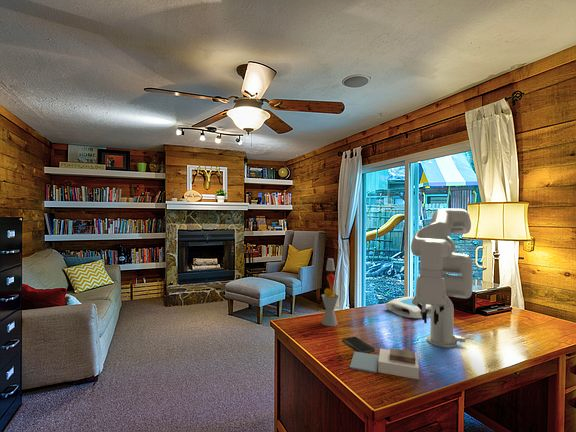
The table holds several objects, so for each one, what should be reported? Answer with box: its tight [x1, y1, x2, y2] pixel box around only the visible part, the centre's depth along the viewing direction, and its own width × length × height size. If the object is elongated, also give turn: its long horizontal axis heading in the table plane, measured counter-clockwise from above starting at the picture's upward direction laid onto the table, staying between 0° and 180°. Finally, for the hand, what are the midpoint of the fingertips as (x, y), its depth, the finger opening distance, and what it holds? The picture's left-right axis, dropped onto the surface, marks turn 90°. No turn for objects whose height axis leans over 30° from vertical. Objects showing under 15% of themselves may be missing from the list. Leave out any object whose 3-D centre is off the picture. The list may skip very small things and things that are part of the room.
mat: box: [349, 351, 379, 374], centre depth 122 cm, size 10×14×1 cm
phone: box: [342, 336, 375, 354], centre depth 138 cm, size 8×1×15 cm
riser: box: [377, 348, 420, 380], centre depth 118 cm, size 14×12×4 cm
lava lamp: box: [321, 257, 339, 327], centre depth 165 cm, size 9×9×35 cm
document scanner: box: [385, 296, 431, 319], centre depth 188 cm, size 21×28×6 cm
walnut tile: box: [389, 347, 416, 364], centre depth 117 cm, size 9×6×2 cm, turn 70°
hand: (430, 322), depth 114 cm, fingers open, 2 cm apart
